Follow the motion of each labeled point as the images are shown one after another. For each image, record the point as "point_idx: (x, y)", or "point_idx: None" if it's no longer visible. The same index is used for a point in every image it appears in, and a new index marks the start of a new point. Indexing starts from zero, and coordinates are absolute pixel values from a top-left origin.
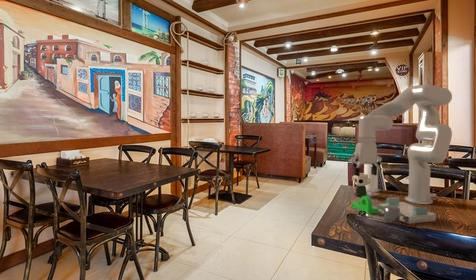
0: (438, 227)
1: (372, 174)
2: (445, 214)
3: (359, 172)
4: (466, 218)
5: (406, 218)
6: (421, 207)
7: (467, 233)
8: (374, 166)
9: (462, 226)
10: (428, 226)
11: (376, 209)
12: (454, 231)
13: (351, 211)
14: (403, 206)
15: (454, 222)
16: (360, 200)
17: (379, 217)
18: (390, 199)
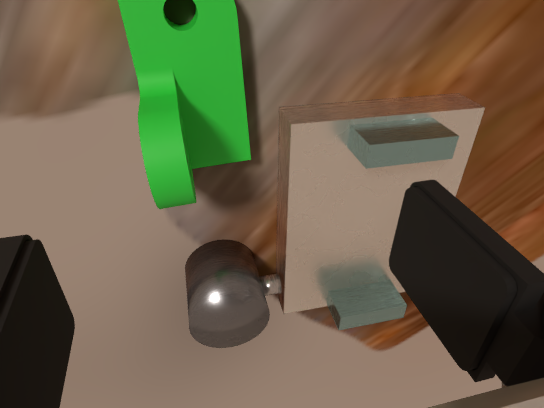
0: None
1: (407, 200)
2: (523, 211)
3: (60, 383)
4: (532, 252)
5: (281, 294)
6: (382, 314)
7: (383, 347)
8: (502, 362)
9: None
10: (326, 309)
11: (233, 161)
12: (364, 338)
13: (55, 94)
14: (400, 187)
15: None
16: (139, 117)
17: (196, 217)
18: (377, 164)
